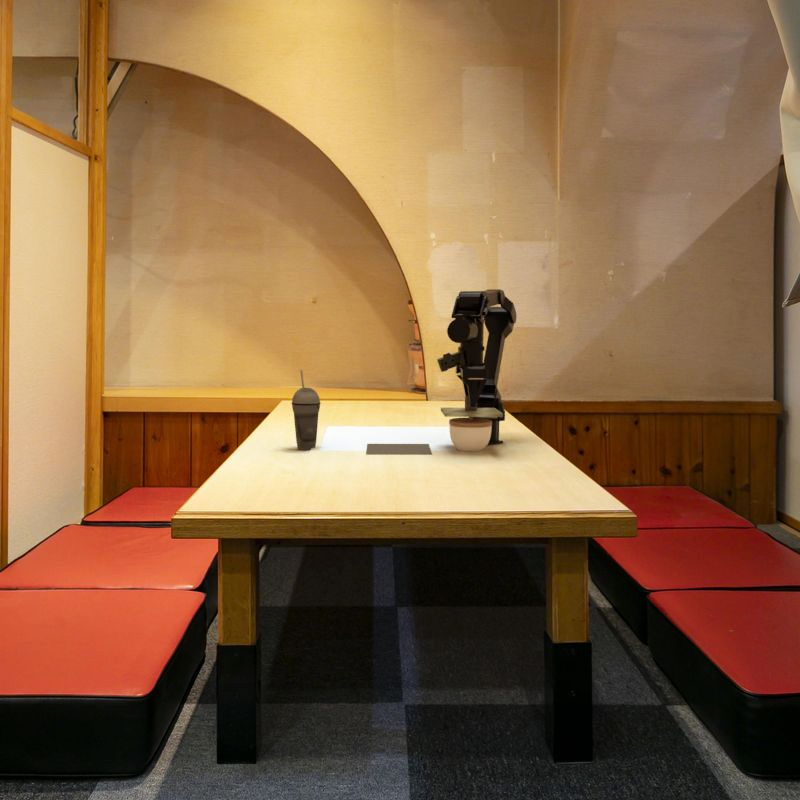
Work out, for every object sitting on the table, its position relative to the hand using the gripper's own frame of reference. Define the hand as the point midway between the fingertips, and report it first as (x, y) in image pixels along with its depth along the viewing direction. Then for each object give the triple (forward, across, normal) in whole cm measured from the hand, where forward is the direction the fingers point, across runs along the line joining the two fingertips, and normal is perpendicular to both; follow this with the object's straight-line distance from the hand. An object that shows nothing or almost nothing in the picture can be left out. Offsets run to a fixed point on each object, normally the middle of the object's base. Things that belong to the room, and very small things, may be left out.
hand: (470, 404), depth 191 cm
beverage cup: (+12, -2, -41) cm, 43 cm away
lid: (+2, 0, 0) cm, 2 cm away
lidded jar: (+12, 0, 0) cm, 12 cm away
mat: (+12, 0, -18) cm, 21 cm away
